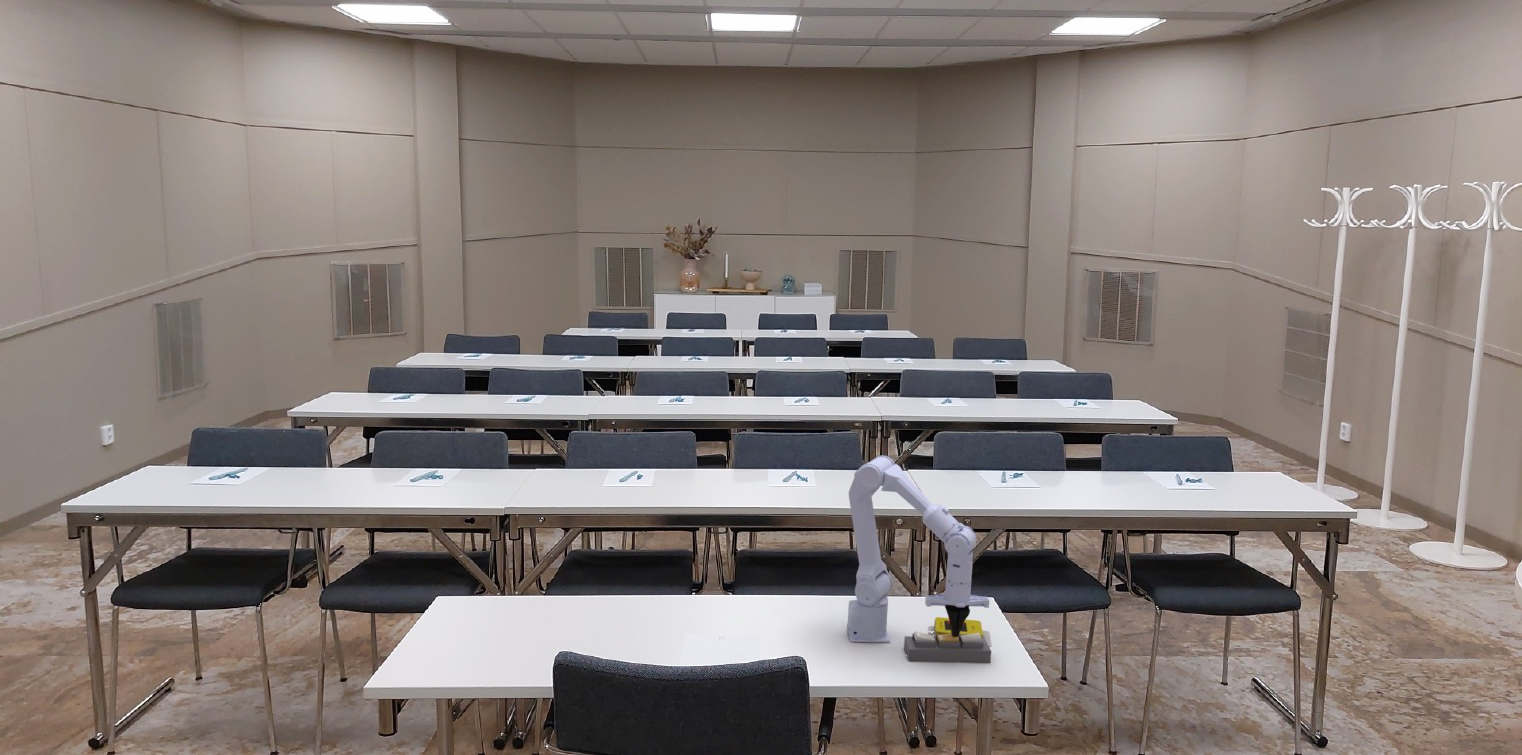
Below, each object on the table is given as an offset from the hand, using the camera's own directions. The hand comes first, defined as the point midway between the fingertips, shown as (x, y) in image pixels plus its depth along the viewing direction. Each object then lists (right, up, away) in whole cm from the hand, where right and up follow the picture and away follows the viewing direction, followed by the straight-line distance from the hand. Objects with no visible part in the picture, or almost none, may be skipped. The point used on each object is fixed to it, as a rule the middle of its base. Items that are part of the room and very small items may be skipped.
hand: (954, 635), depth 249 cm
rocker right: (+4, -1, 0) cm, 4 cm away
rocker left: (-7, -1, 0) cm, 7 cm away
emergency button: (+3, -4, +12) cm, 13 cm away
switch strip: (-2, -5, +1) cm, 5 cm away
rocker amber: (-2, -1, 0) cm, 2 cm away
